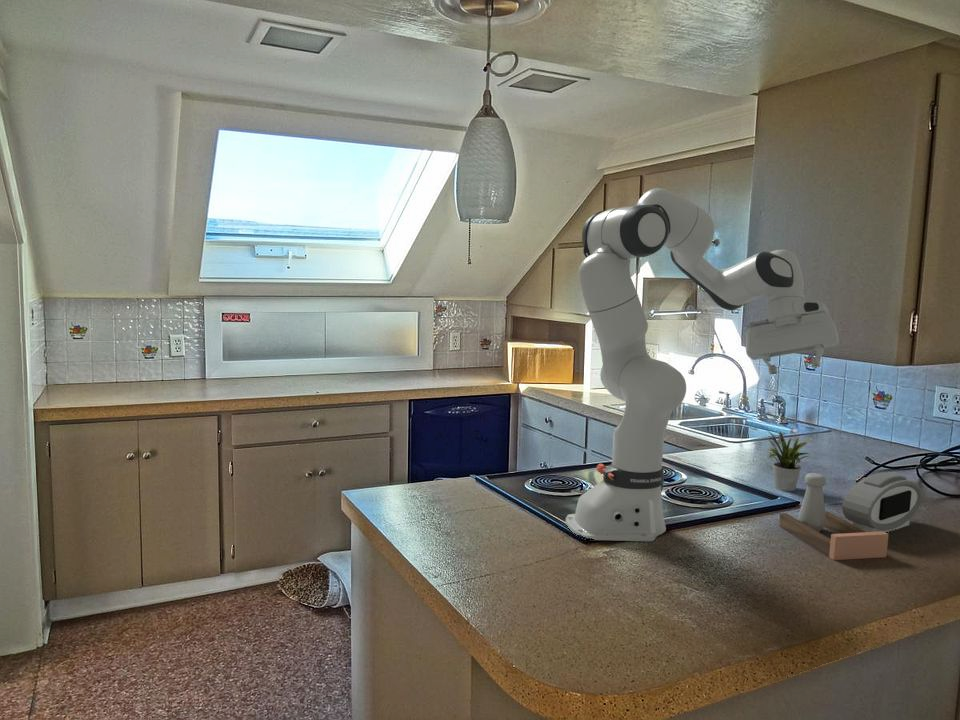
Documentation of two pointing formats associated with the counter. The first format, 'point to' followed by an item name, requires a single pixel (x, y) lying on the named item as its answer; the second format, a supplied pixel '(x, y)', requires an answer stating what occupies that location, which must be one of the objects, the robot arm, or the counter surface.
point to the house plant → (786, 463)
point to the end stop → (858, 545)
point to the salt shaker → (813, 502)
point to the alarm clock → (882, 502)
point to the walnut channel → (814, 536)
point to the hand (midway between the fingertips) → (794, 370)
